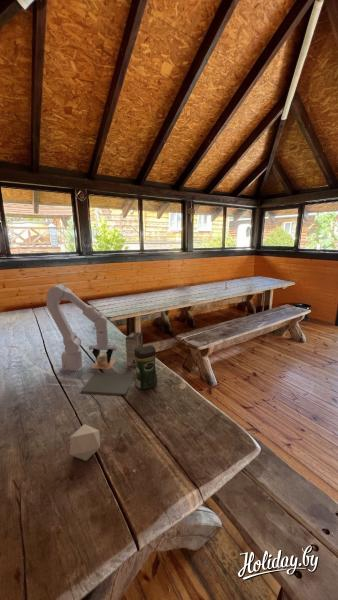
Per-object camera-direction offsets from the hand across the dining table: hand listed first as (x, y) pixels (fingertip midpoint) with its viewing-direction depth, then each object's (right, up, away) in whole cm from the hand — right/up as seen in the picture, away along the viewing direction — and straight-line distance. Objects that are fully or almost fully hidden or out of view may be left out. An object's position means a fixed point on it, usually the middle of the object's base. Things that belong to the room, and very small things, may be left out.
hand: (103, 362), depth 130 cm
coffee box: (+16, -1, +3) cm, 17 cm away
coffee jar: (+24, -6, -18) cm, 31 cm away
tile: (0, -2, 0) cm, 2 cm away
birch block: (0, -1, 0) cm, 1 cm away
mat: (+7, -6, -17) cm, 19 cm away
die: (+9, -14, -54) cm, 57 cm away
